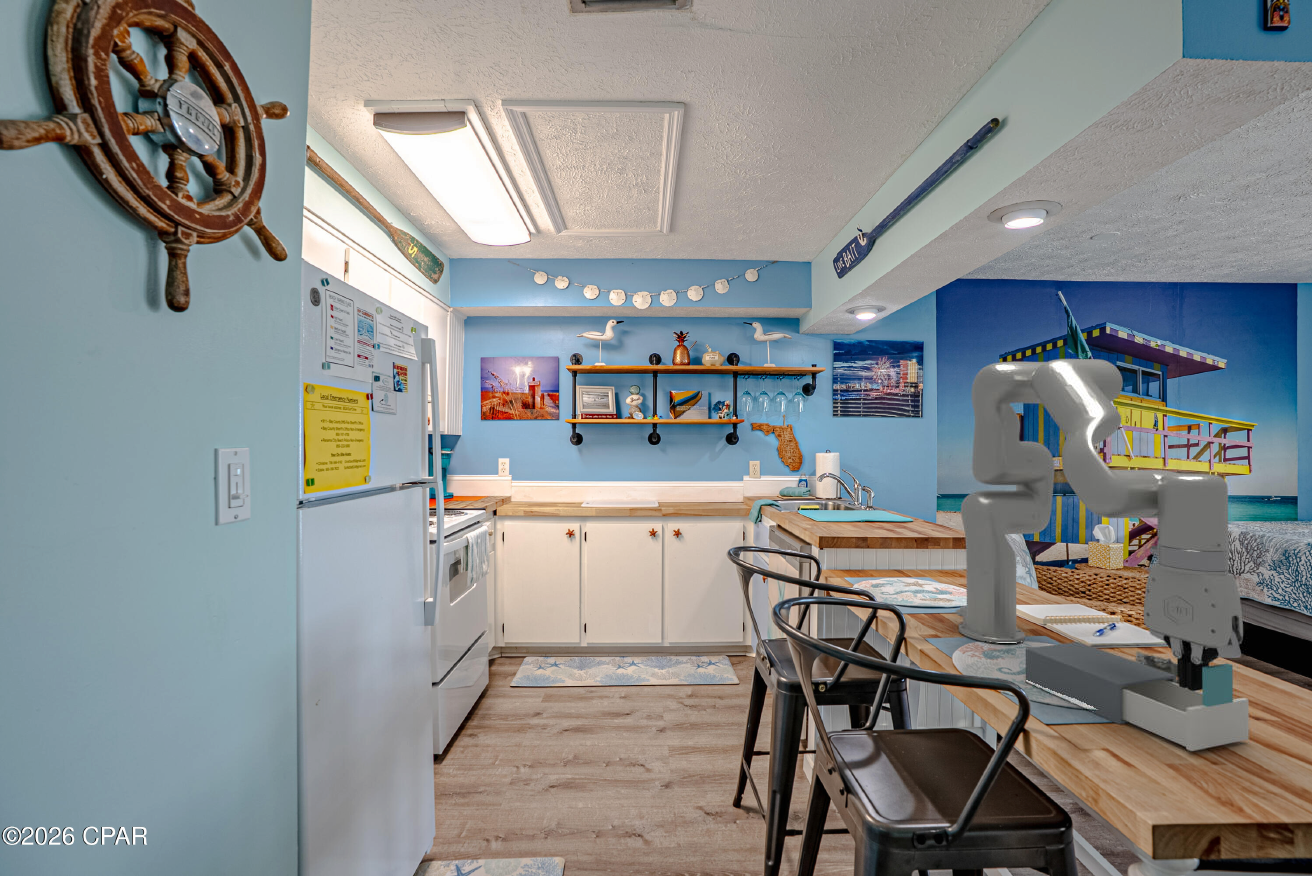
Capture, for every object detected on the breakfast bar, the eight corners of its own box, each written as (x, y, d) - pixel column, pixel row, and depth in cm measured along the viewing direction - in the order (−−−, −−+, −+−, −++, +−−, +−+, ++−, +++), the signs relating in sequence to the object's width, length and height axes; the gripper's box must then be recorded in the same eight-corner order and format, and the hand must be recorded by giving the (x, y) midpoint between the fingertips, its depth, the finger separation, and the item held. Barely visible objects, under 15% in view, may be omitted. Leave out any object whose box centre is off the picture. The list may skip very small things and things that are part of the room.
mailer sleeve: (1025, 682, 104) (1025, 648, 104) (1077, 674, 108) (1077, 641, 108) (1119, 724, 89) (1119, 684, 89) (1176, 713, 92) (1176, 675, 92)
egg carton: (1196, 699, 98) (1196, 675, 98) (1138, 688, 102) (1138, 664, 102) (1189, 678, 106) (1189, 655, 106) (1135, 669, 111) (1135, 647, 111)
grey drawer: (1074, 699, 96) (1074, 633, 96) (1126, 691, 99) (1126, 626, 99) (1191, 750, 80) (1190, 671, 80) (1248, 739, 83) (1248, 662, 83)
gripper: (1119, 551, 91) (1119, 671, 91) (1237, 572, 77) (1239, 714, 77) (1154, 549, 93) (1155, 666, 93) (1276, 568, 79) (1277, 706, 79)
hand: (1193, 687), depth 85 cm, fingers closed
